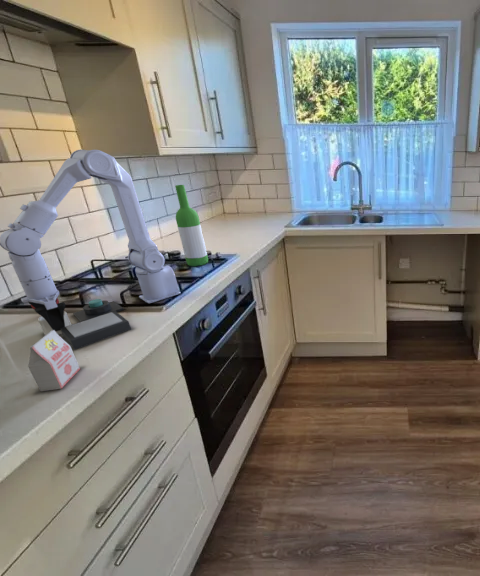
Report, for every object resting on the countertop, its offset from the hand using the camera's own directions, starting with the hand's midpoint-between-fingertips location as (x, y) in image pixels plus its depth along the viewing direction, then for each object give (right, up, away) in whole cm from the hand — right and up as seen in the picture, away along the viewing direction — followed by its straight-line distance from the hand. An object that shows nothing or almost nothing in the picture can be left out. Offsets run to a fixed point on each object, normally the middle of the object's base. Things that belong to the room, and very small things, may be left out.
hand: (56, 326), depth 94 cm
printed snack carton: (+18, -9, -19) cm, 28 cm away
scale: (+12, -2, -1) cm, 12 cm away
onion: (-11, +2, +10) cm, 15 cm away
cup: (0, -1, +1) cm, 1 cm away
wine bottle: (+12, +19, +48) cm, 53 cm away
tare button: (+3, +5, +9) cm, 11 cm away
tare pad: (+3, +3, +10) cm, 11 cm away
